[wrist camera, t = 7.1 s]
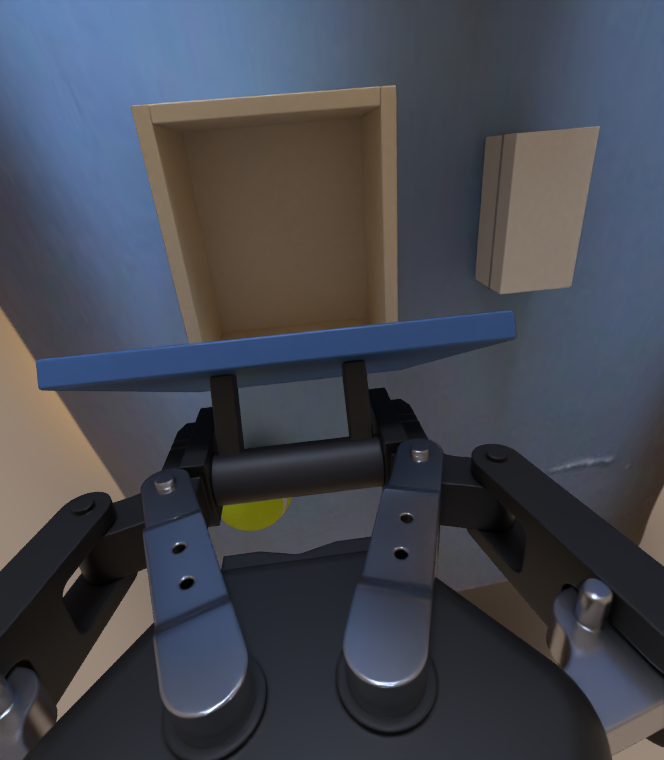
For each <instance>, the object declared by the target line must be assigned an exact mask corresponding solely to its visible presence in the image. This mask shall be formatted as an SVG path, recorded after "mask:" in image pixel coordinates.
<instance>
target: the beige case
mask: <svg viewBox="0 0 664 760" xmlns="http://www.w3.org/2000/svg"><path fill="white" fill-rule="evenodd" d="M599 129H600V127H599V126H596V127H579V128H567V129H555V130H543V131H531V132H519V133H508V134H502V135H498V136H490V137H486V141H485V155H484V168H483V181H482V194H481V207H480V220H479V233H478V247H477V260H476V273H475V279H476V280H478V281H479V282H481V283H483V284H484V285H486V286H488V289H492V290H494V291H496V292H497V293H499V294H509V293H518V292H528V291H538V290H547V289H557V288H567V287H571V284H572V279H573V273H574V268H575V262H576V257H577V251H578V245H579V240H580V234H581V229H582V223H583V218H584V212H585V207H586V201H587V195H588V190H589V184H590V179H591V173H592V168H593V162H594V157H595V151H596V145H597V140H598V134H599Z"/></svg>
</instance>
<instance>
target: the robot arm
mask: <svg viewBox="0 0 664 760" xmlns="http://www.w3.org/2000/svg"><path fill="white" fill-rule="evenodd" d="M368 390H369V399H370V407H371V416H372V425H373V434H377V435H378V437H379V439H380V443H381V447H382V452H383V458H384V466H385V483H384V485H383V486H382V489H383V491H382V495H381V500H380V504H379V508H378V512H377V516H376V520H375V524H374V528H373V532H372V536H371V537H366V538H358V539H351V540H343V541H336V542H333V543H330V544H327V545H324V546H321V547H318V548H316V549H313V550H310V551H307V552H304V553H301V554H285V553H272V552H254V553H246V554H239V555H231V556H224V558H223V564H222V569H220V566H219V563H218V560H217V557H216V554H215V551H214V548H213V545H212V541H211V538H210V535H209V532H208V527H212V526H220V521H221V515H222V510H223V506H219V505H217V503H216V501H215V499H214V495H213V490H212V482H211V464H212V459H213V456H214V454H215V453H216V452H217V444H216V435H215V425H214V416H213V407H209V408H201V409H200V411H199V414H198V417H197V419H196V422H195V423H188V424H186V425H185V426H184V427H183V428H182V429H181V430H179V431H178V433H177V435H176V437H175V440H174V443H173V445H172V447H171V450H170V452H169V454H168V457H167V459H166V461H165V464H164V466H163V469H162V471H160V472H157V473H155V474H153V475H152V476H150V477H149V478H148V479H147V480H145V482H144V483H143V484H142V486H141V493H140V494H138V495H135V496H133V497H130V498H127V499H124V500H121V501H118V502H114V503H113V502H112V500H111V497H110V496H109V495H108V494H106V493H104V492H92V493H87V494H84V495H81V496H79V497H77V498H75V499H73V500H71V501H70V502H68V503H67V504H66V505H64V506H63V507H62V508H61V509H60V510H59V511H58V512H57V513H56V514H55V515H54V516H53V517H52V518H51V519H50V520H49V522H48V523H47V524H46V525H45V526H44V527H43V528H42V529H41V530H40V531H39V532H38V533H37V534H36V535H35V536H34V537H33V538H32V539H31V540H30V541H29V542H28V543H27V544H26V546H24V547H23V548H22V550H20V551H19V553H18V554H17V555H16V556H15V557H14V558H13V559H12V560H11V561H10V562H9V563H8V564H7V565H6V566H5V567H4V568H3V569H2V570H1V571H0V760H612V756H613V755H615V754H617V753H619V752H621V751H623V750H624V749H626V748H628V747H630V746H632V745H634V744H636V743H637V742H639V741H641V740H643V739H645V738H646V739H648V740H650V741H651V742H653V743H655V744H657V745H659V746H661V747H664V566H662V565H661V564H660V563H659V562H657V561H656V560H655V559H653V558H652V557H651V556H649V555H648V554H647V553H646V552H644V551H643V550H642V549H641V548H639V547H638V546H637V545H636V544H634V543H633V542H632V541H630V540H629V539H628V538H627V537H625V536H624V535H623V534H621V533H620V532H619V531H618V530H616V529H615V528H614V527H612V526H611V525H610V524H609V523H607V522H606V521H605V520H603V519H602V518H601V517H600V516H598V515H597V514H596V513H595V512H593V511H592V510H591V509H589V508H588V507H587V506H586V505H584V504H583V503H582V502H580V501H579V500H578V499H577V498H575V497H574V496H573V495H571V494H570V493H569V492H568V491H566V490H565V489H564V488H562V487H561V486H560V485H559V484H557V483H556V482H555V481H554V480H552V479H551V478H550V477H548V476H547V475H546V474H545V473H543V472H542V471H541V470H539V469H538V468H537V467H536V466H534V465H533V464H532V463H530V462H529V461H528V460H527V459H525V458H524V457H523V456H522V455H520V454H519V453H518V452H516V451H515V450H513V449H511V448H509V447H507V446H503V445H499V444H485V445H481V446H478V447H476V448H475V449H474V450H473V452H472V457H471V458H469V457H457V456H451V455H447V454H444V453H443V449H442V448H441V446H440V445H439V444H437V443H435V442H433V441H431V440H428V438H427V436H426V434H425V432H424V430H423V429H422V427H421V425H420V423H419V421H418V420H417V417H416V416H415V414H414V412H413V410H412V408H411V406H410V405H409V404H407V403H406V402H404V401H403V400H401V399H395V400H390V398H389V396H388V393H387V391H386V389H385V388H375V389H368ZM440 525H445V526H453V527H461V528H467V531H468V533H469V534H470V535H471V537H472V538H473V539H474V540H475V541H476V542H477V544H478V545H479V546H480V547H481V548H482V550H483V551H484V552H485V553H486V554H487V555H488V557H489V558H490V559H491V560H492V561H493V563H494V564H495V565H496V566H497V567H498V569H499V570H500V571H501V572H502V573H503V574H504V576H505V577H506V578H507V579H508V580H509V582H510V583H511V584H512V585H513V586H514V587H515V589H516V590H517V591H518V592H519V593H520V595H521V596H522V597H523V598H524V599H525V600H526V602H527V603H528V604H529V605H530V606H531V608H532V609H533V610H534V611H535V612H536V614H537V615H538V616H539V617H540V618H541V619H542V621H543V622H544V623H545V624H546V625H547V627H548V629H547V634H546V641H547V645H548V648H549V650H550V653H551V654H552V656H553V658H554V659H555V661H556V662H557V664H558V665H556V664H555V663H553V662H552V661H551V660H550V659H548V658H547V657H545V656H544V655H543V654H541V653H540V652H539V651H537V650H536V649H534V648H533V647H532V646H530V645H529V644H527V643H526V642H525V641H523V640H522V639H521V638H519V637H518V636H516V635H515V634H514V633H512V632H511V631H509V630H508V629H507V628H505V627H504V626H503V625H501V624H500V623H498V622H497V621H496V620H494V619H493V618H492V617H490V616H489V615H487V614H486V613H485V612H483V611H482V610H481V609H479V608H478V607H476V606H475V605H474V604H472V603H471V602H469V601H468V600H467V599H465V598H464V597H463V596H461V595H460V594H458V593H457V592H456V591H454V590H453V589H452V588H450V587H449V586H447V585H446V584H445V583H443V582H442V581H440V580H439V579H438V578H437V569H438V553H439V538H440ZM78 567H79V568H80V569H81V572H82V573H81V575H80V576H79V577H78V579H77V580H76V581H75V583H74V584H73V585H72V587H71V588H70V589H69V591H68V592H67V593H66V594H65V596H64V597H63V590H64V587H65V585H66V583H67V581H68V580H69V578H70V577H71V576H72V575H73V573H74V572H75V570H76V569H77V568H78ZM146 568H147V572H148V579H149V586H150V595H151V602H152V610H153V618H154V623H153V624H152V625H151V626H150V627H149V628H148V629H147V630H146V631H145V632H144V633H143V634H142V635H141V636H140V637H139V638H138V639H137V640H136V641H135V642H134V644H132V646H130V648H129V649H128V650H127V651H126V652H125V653H124V654H123V655H122V656H121V657H120V658H119V659H118V660H117V661H116V662H115V663H114V664H113V665H112V666H111V667H110V668H109V669H108V670H107V671H106V672H105V673H104V674H103V675H102V676H101V677H100V679H98V680H97V681H96V683H94V684H93V686H91V687H90V689H89V690H88V691H87V692H86V693H85V694H84V695H83V696H82V697H81V698H80V699H79V700H78V701H77V702H76V703H75V704H74V705H73V706H72V707H71V708H70V709H69V710H68V711H67V712H66V713H65V714H64V715H63V716H62V717H61V718H60V719H59V720H58V721H57V722H56V720H57V707H56V705H57V703H58V701H59V700H60V698H61V697H62V695H63V694H64V692H65V690H66V689H67V687H68V686H69V684H70V682H71V681H72V679H73V678H74V676H75V674H76V673H77V671H78V670H79V668H80V666H81V665H82V663H83V662H84V660H85V658H86V657H87V655H88V654H89V652H90V650H91V649H92V647H93V646H94V644H95V642H96V641H97V639H98V638H99V636H100V634H101V633H102V631H103V630H104V628H105V626H106V625H107V623H108V621H109V620H110V618H111V617H112V615H113V613H114V612H115V610H116V609H117V607H118V606H119V604H120V602H121V601H122V599H123V597H124V596H125V594H126V593H127V591H128V590H129V588H130V586H131V585H132V583H133V581H134V580H135V578H136V576H137V573H138V571H141V570H143V569H146Z"/></svg>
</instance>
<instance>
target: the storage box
mask: <svg viewBox="0 0 664 760" xmlns="http://www.w3.org/2000/svg"><path fill="white" fill-rule="evenodd" d="M131 109H132V113H133V117H134V122H135V126H136V130H137V134H138V138H139V142H140V146H141V150H142V154H143V158H144V162H145V166H146V170H147V174H148V179H149V183H150V187H151V191H152V195H153V199H154V203H155V207H156V211H157V215H158V219H159V223H160V227H161V232H162V236H163V240H164V244H165V248H166V252H167V256H168V260H169V264H170V268H171V272H172V276H173V280H174V284H175V289H176V293H177V297H178V301H179V305H180V309H181V313H182V317H183V321H184V325H185V329H186V333H187V337H188V341H189V344H192V343H202V342H211V341H221V340H230V339H240V338H249V337H259V336H268V335H278V334H288V333H297V332H307V331H316V330H326V329H335V328H345V327H354V326H364V325H373V324H383V323H392V322H398V274H397V117H396V86H395V85H392V86H382V87H379V86H378V87H365V88H352V89H339V90H327V91H314V92H301V93H288V94H275V95H262V96H249V97H236V98H224V99H211V100H198V101H185V102H172V103H159V104H149V105H147V104H145V105H132V106H131Z"/></svg>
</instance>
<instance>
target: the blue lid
mask: <svg viewBox="0 0 664 760" xmlns="http://www.w3.org/2000/svg"><path fill="white" fill-rule="evenodd" d="M516 336H517V335H516V327H515V319H514V312H513V311H511V310H507V311H497V312H488V313H478V314H469V315H459V316H450V317H440V318H430V319H421V320H411V321H402V322H392V323H383V324H373V325H364V326H354V327H345V328H335V329H326V330H316V331H307V332H297V333H288V334H278V335H268V336H259V337H249V338H240V339H230V340H221V341H211V342H202V343H192V344H183V345H173V346H164V347H154V348H145V349H135V350H126V351H116V352H106V353H97V354H87V355H78V356H68V357H59V358H49V359H40V360H38V361H36V368H37V378H38V388H39V389H40V390H48V391H50V390H51V391H136V392H205V391H211V397H212V406H213V416H214V425H215V435H216V444H217V452H216V453H215V454H214V456H213V459H212V464H211V482H212V490H213V495H214V499H215V501H216V503H217V505H219V506H225V505H233V504H241V503H249V502H257V501H265V500H273V499H281V498H290V497H298V496H306V495H314V494H322V493H330V492H338V491H346V490H354V489H362V488H370V487H378V486H383V485H384V483H385V466H384V458H383V452H382V447H381V443H380V439H379V437H378V435H377V434H373V425H372V416H371V407H370V399H369V390H368V381H367V374H368V373H377V372H386V371H395V370H402V369H405V368H409V367H413V366H416V365H420V364H424V363H428V362H431V361H435V360H439V359H443V358H446V357H450V356H454V355H457V354H461V353H465V352H469V351H472V350H476V349H480V348H483V347H487V346H491V345H495V344H498V343H502V342H506V341H510V340H513V339H515V338H516ZM341 376H343V385H344V394H345V402H346V411H347V420H348V429H349V437H342V438H333V439H325V440H316V441H308V442H299V443H291V444H282V445H274V446H265V447H257V448H248V449H244V442H243V433H242V424H241V414H240V405H239V395H238V388H241V387H250V386H259V385H268V384H277V383H287V382H296V381H305V380H314V379H323V378H332V377H341Z"/></svg>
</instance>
